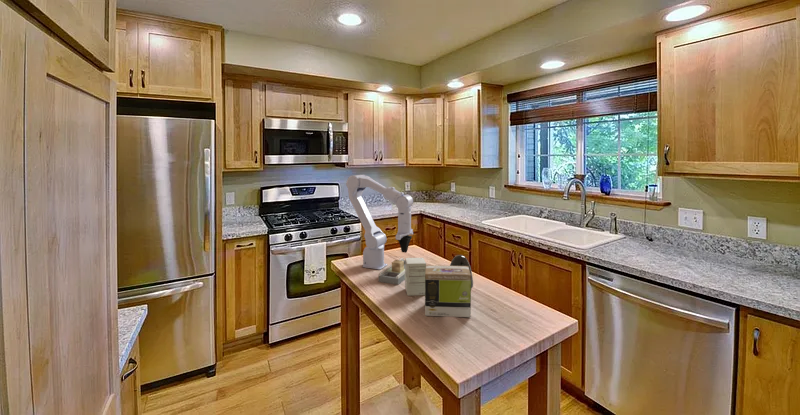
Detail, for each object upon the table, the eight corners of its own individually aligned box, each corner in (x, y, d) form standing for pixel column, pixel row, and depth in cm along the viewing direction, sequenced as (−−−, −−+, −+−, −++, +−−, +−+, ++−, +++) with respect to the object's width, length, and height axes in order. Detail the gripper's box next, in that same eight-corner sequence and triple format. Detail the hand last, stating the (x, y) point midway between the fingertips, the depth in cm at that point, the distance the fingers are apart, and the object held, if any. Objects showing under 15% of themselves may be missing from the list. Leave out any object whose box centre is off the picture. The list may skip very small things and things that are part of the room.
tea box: (468, 305, 128) (469, 265, 125) (470, 318, 118) (472, 275, 116) (425, 303, 129) (425, 263, 127) (424, 316, 119) (424, 273, 117)
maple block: (391, 271, 156) (391, 262, 155) (395, 268, 159) (395, 259, 159) (400, 272, 154) (400, 263, 154) (403, 269, 158) (403, 260, 157)
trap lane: (378, 281, 151) (378, 273, 150) (402, 264, 172) (402, 257, 172) (398, 284, 147) (398, 276, 147) (419, 267, 169) (419, 260, 168)
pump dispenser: (449, 299, 132) (450, 259, 130) (443, 289, 143) (443, 251, 140) (476, 298, 133) (477, 258, 131) (468, 288, 144) (469, 251, 141)
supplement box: (404, 288, 143) (404, 257, 141) (423, 287, 144) (423, 257, 142) (406, 295, 136) (406, 263, 134) (426, 295, 137) (426, 263, 135)
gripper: (406, 226, 152) (406, 257, 154) (418, 220, 165) (418, 249, 167) (391, 224, 155) (391, 255, 157) (404, 218, 168) (404, 247, 170)
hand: (404, 252), depth 163 cm, fingers closed
